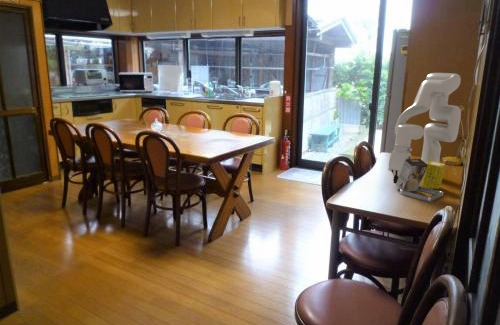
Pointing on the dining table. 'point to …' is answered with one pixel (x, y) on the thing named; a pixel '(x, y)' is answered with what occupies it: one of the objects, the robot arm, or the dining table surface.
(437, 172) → the food
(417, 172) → the coffee box
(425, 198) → the grey rod frame
